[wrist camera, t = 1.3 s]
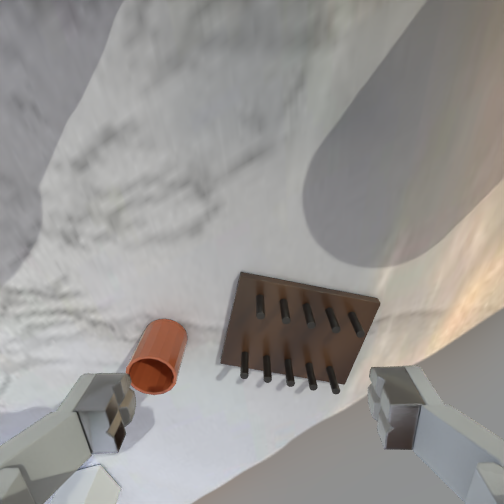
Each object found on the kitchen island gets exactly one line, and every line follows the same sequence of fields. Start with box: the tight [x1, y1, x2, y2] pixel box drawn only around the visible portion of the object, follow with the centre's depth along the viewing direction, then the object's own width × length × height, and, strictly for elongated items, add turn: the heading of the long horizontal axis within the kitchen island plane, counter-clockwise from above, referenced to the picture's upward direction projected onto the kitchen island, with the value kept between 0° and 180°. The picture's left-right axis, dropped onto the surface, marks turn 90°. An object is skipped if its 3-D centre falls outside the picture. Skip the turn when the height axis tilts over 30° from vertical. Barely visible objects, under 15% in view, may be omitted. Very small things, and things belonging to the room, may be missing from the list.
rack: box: [220, 272, 380, 394], centre depth 42 cm, size 18×14×5 cm
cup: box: [126, 319, 188, 395], centre depth 42 cm, size 6×6×7 cm
